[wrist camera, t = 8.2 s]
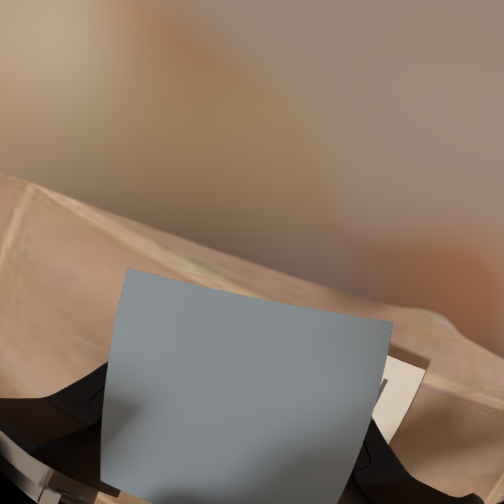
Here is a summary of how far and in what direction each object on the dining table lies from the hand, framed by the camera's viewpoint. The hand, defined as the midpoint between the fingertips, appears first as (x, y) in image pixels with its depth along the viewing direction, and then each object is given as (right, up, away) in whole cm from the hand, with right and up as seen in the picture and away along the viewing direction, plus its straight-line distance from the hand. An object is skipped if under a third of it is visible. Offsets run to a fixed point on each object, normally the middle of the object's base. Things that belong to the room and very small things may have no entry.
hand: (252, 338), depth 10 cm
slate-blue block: (0, -3, +5) cm, 6 cm away
